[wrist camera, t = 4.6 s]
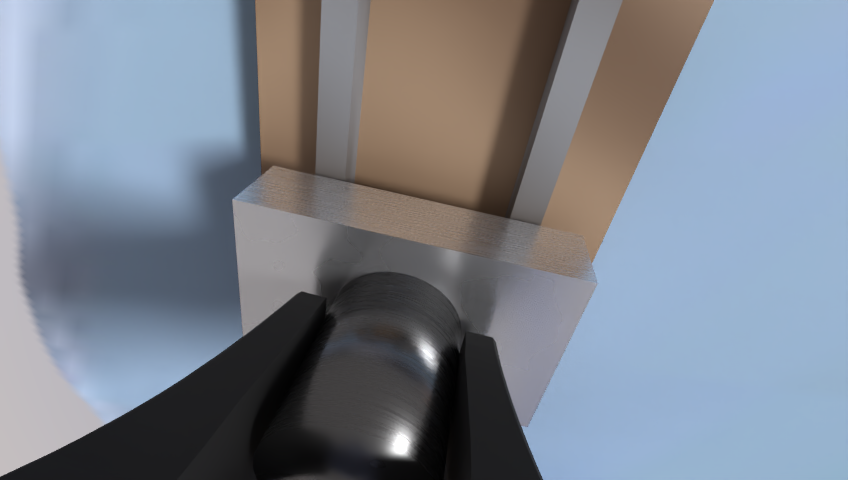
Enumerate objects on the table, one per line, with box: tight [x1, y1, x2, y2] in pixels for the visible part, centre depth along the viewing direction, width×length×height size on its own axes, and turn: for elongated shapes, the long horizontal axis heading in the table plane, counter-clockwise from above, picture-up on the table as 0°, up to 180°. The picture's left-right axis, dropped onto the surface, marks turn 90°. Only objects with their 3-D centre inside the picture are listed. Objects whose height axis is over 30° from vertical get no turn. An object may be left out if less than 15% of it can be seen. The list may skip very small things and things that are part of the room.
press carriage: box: [232, 166, 598, 480], centre depth 10 cm, size 5×8×6 cm, turn 80°
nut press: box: [255, 0, 714, 263], centre depth 12 cm, size 19×10×6 cm, turn 170°
